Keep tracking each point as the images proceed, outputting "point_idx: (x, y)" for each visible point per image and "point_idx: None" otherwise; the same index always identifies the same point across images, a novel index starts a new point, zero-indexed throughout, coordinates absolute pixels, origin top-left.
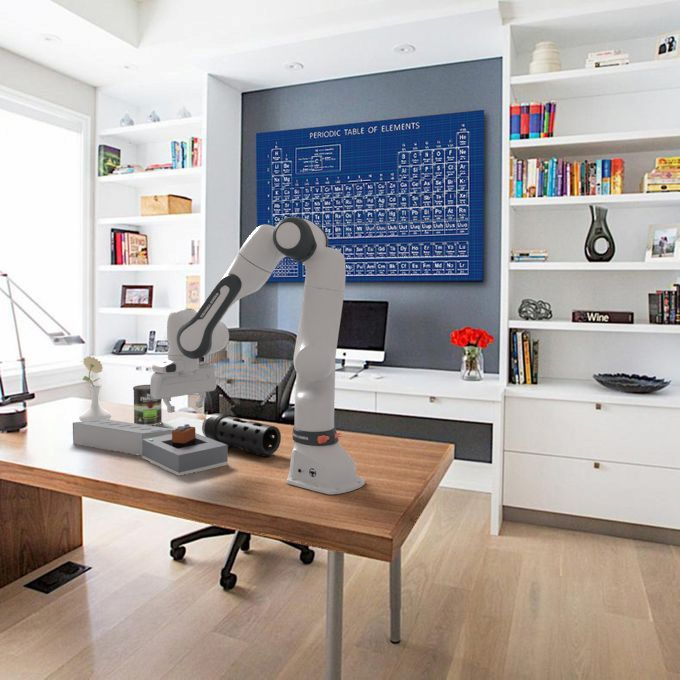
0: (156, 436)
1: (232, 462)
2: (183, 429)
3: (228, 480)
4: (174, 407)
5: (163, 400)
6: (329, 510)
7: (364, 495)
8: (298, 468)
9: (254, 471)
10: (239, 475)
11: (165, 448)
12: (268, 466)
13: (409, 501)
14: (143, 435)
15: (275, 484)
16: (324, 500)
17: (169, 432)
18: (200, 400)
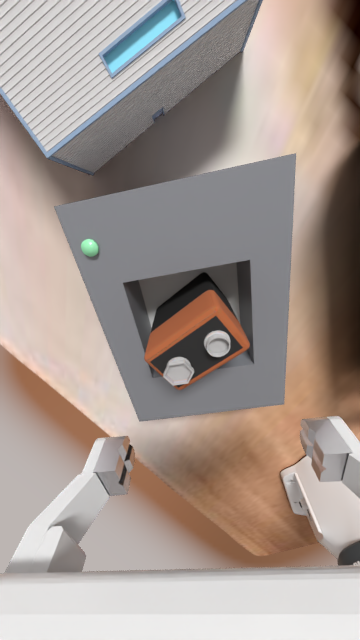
0: (138, 99)
1: None
2: (186, 374)
3: (217, 431)
4: (128, 484)
5: (28, 536)
6: (259, 525)
7: None
8: (302, 507)
9: (280, 417)
10: (246, 422)
11: (121, 361)
12: (321, 408)
13: None
14: (57, 155)
15: (265, 466)
16: (275, 512)
17: (228, 20)
18: (352, 481)
